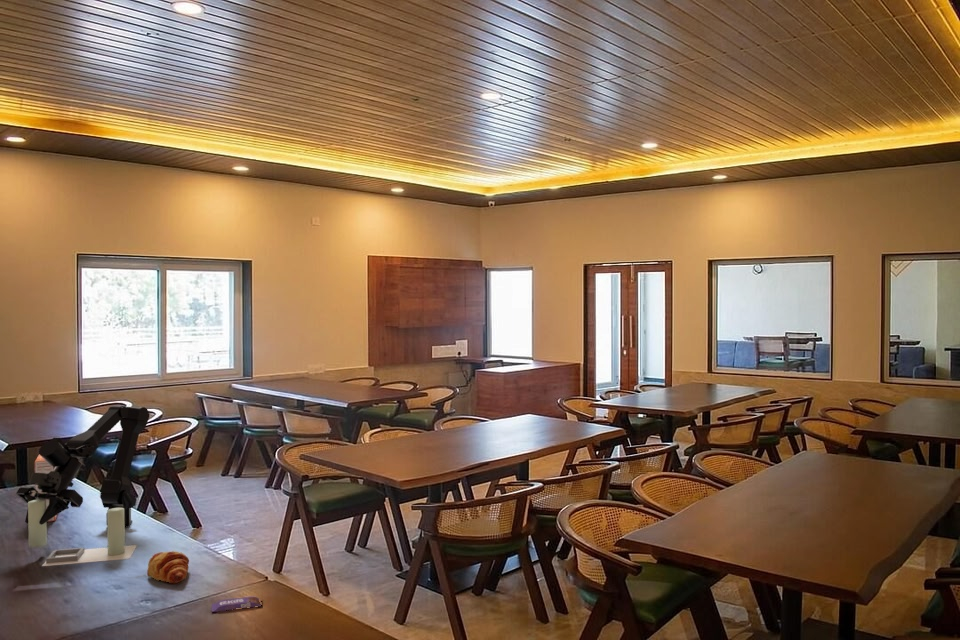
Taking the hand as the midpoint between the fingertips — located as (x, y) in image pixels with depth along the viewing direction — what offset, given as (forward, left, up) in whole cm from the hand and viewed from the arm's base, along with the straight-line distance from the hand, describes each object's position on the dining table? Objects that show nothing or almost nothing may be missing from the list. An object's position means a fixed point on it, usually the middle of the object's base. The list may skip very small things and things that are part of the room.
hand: (33, 523), depth 208 cm
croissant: (-38, +22, -11) cm, 46 cm away
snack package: (-57, +49, -11) cm, 76 cm away
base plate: (-15, +3, -11) cm, 19 cm away
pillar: (-1, -1, -7) cm, 7 cm away
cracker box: (+9, -48, -11) cm, 50 cm away
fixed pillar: (-22, +3, -10) cm, 24 cm away
